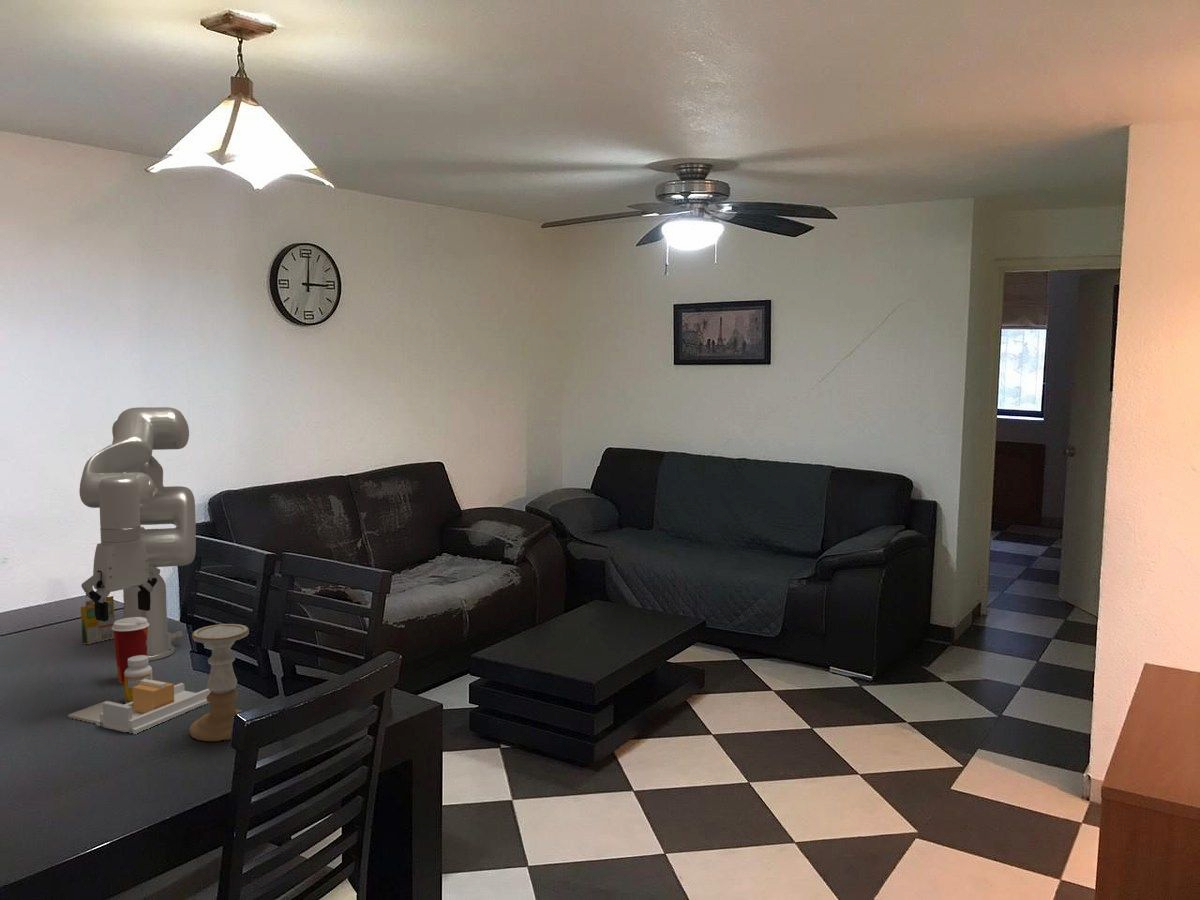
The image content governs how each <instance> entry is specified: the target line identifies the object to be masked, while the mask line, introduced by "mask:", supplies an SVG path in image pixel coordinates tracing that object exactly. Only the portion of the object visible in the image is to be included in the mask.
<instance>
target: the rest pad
mask: <svg viewBox="0 0 1200 900" xmlns="http://www.w3.org/2000/svg"><path fill="white" fill-rule="evenodd" d="M107 701H108V702H113V703H117V704H122V705H124V703H120V702H116V701H111V700H105V701H102V702H99V703H97V704H93V705H90V706H88V707H86V708H83V709H81V710H77V711H75V712H72V713H69V714H68V715H67V718H68V717H69V719H72V718H73V720H76V719H77V720H76V721H80V720H82V721H81V722H85V721H86V722H85V723H89V722H90V723H89V724H93V723H95V724H94V725H97V724H96V721H97V720H100V714H101V713H103V703H104V702H107Z"/></svg>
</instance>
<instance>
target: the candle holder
mask: <svg viewBox="0 0 1200 900" xmlns="http://www.w3.org/2000/svg"><path fill="white" fill-rule="evenodd" d="M249 633H250V629H249V627H248V626H247V625H243V624H238V623H222V624H221V623H219V624H214V625H212V624H211V625H208V626H203V627H201V628H197V629H196V630H194V631H193V632H192V633H191V634H192V635H191V638H192V640H193V641H194V642H197V643H199V644H200V643H201V644H206V645H207V647H209V648H210V650H211V656H210V657H209V658H207V663H208V664H209V665H210V672H209V677H208V679H207V683H206V686H207V689H209V690H210V691H211V692H210V693H209V695H208V696H207V698H206V699H207V701H208V702H209V703H210V704H209V705H210V711H209V712H208V713H205V714H204V715H202V716H200V718H198V719H197V720H195V721H194V722H193V723H192V724H191V725H190V727H189V730H188V731H189V735H190V737H191V738H193V739H194V738H195V739H194V740H197V741H201V740H202V741H203V742H222V741H221V740H224V741H229V740H231V739H230V735H231V728H232V722H233V717H234V715H235V714H236V713H238V712H241V711H243V710H241V709H236V703H235V701H236V700H237V699H238V698H239V693H238V692H237V691H236V690H235V687H236V686H237V684H238V679H237V677H236V674H235V672H234V667H233V662H234V661H235V660H236V657H235V655H233V654H232V652H231V650H232V649H231V648H232V647H233V645H234V644H235V643H236V641H239V640H241V639H244V638H245V637H247V636H249ZM225 739H226V740H225Z"/></svg>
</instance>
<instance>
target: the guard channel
mask: <svg viewBox="0 0 1200 900" xmlns="http://www.w3.org/2000/svg"><path fill="white" fill-rule="evenodd" d="M185 688H186V687H185V683H183V682H180V683H178V684H174V702H173V703H170V704H168V705H165V706H163V707H160V708H158V709H155V710H153V711H150V712H147V713H141V712H136V711H133V701H132V702H130V703H127V704H126V703H125V704H124V703H121V704H117V703H118V702H116V703H113V702H114V701H111V702H108V701H109V700H106V701H107V702H104V701H103V702H104V703H103V713H101V714H100V720H97V721H96V724H95V725H96V726H97V727H100V726H101V728H105V729H111V730H113V729H114V731H119V732H123V733H126V732H129V733H128V734H131V733H133V734H132V735H135V734H136V735H138V734H137V733H139V732H141V731H143V730H146V729H148V730H150V729H149V728H151V727H153V726H155V725H157V724H160V723H162V722H165V721H167V720H169V719H171V718H173V717H176V716H178V715H180V714H183V713H185V712H187V711H189V710H192V709H194V708H196V707H199V706H201V705H204V704H207V703H209V702H208V701H207V699H206V698H207V696H208V695H209V693H210V692H211V691H210V690H209V689H208V688H206V689H203V690H200V691H198V692H195V691H188V690H185ZM122 704H124V705H122ZM167 722H168V721H167ZM165 723H166V722H165ZM160 725H161V724H160ZM155 727H156V726H155ZM153 728H154V727H153ZM151 729H152V728H151ZM146 731H147V730H146ZM141 733H142V732H141ZM139 734H140V733H139Z"/></svg>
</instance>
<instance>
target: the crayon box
mask: <svg viewBox="0 0 1200 900" xmlns="http://www.w3.org/2000/svg"><path fill="white" fill-rule="evenodd" d="M105 602H107V603H108V621H100V620H96V616H95V604H94V601H92V600H91V599H90V600H86V601H85V606H84V605H83V606H80V616H81V617H80V618H81V640H82V642H83V643H86V644H90V643H94V644H96V643H95V642H98V641H103V640H107V641H109V640H108V639H111V640H114V639H113V638H114V632H113V630H112V627H113V624H114V622H115V621H116V620H115V603H114V595H111V596H108V597H107V598H106V600H105ZM103 642H104V641H103ZM83 643H82V644H83ZM98 643H99V642H98ZM86 644H85V645H86ZM90 645H91V644H90Z"/></svg>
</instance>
